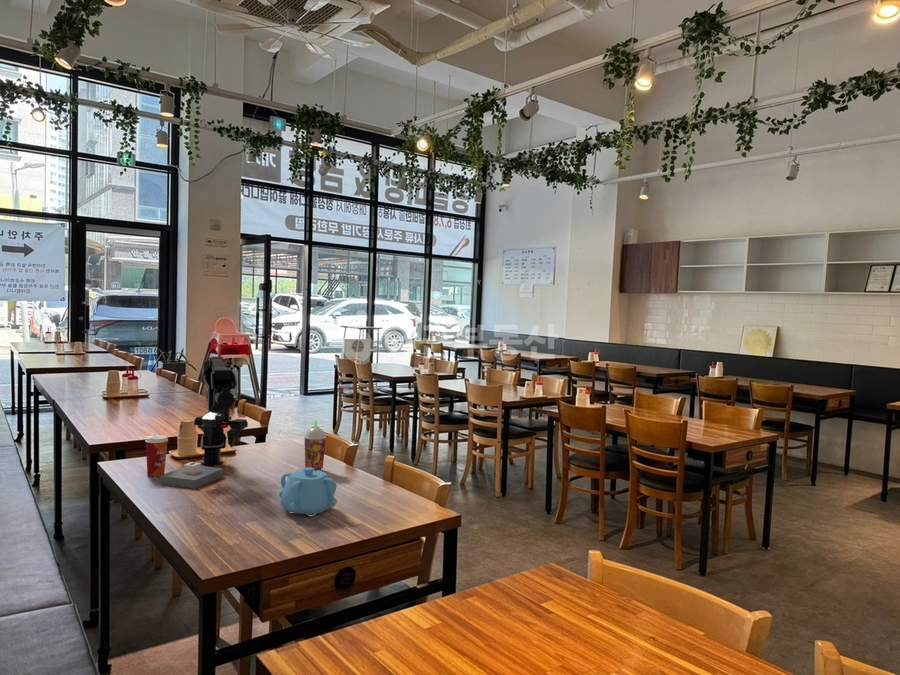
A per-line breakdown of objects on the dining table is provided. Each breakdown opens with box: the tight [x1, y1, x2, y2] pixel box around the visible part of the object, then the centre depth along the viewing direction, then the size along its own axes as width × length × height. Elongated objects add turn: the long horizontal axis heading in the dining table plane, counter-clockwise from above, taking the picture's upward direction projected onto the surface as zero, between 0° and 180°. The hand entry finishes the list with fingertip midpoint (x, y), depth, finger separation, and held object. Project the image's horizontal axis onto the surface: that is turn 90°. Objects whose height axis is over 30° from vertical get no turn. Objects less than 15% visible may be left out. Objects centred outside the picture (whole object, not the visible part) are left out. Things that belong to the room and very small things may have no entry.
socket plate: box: [159, 465, 224, 489], centre depth 218 cm, size 16×14×3 cm
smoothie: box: [303, 419, 327, 471], centre depth 237 cm, size 8×8×20 cm
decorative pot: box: [279, 467, 338, 515], centre depth 192 cm, size 16×16×14 cm
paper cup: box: [144, 434, 169, 477], centre depth 222 cm, size 8×8×14 cm
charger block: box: [183, 461, 202, 475], centre depth 218 cm, size 4×4×6 cm
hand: (220, 445), depth 221 cm, fingers open, 9 cm apart
